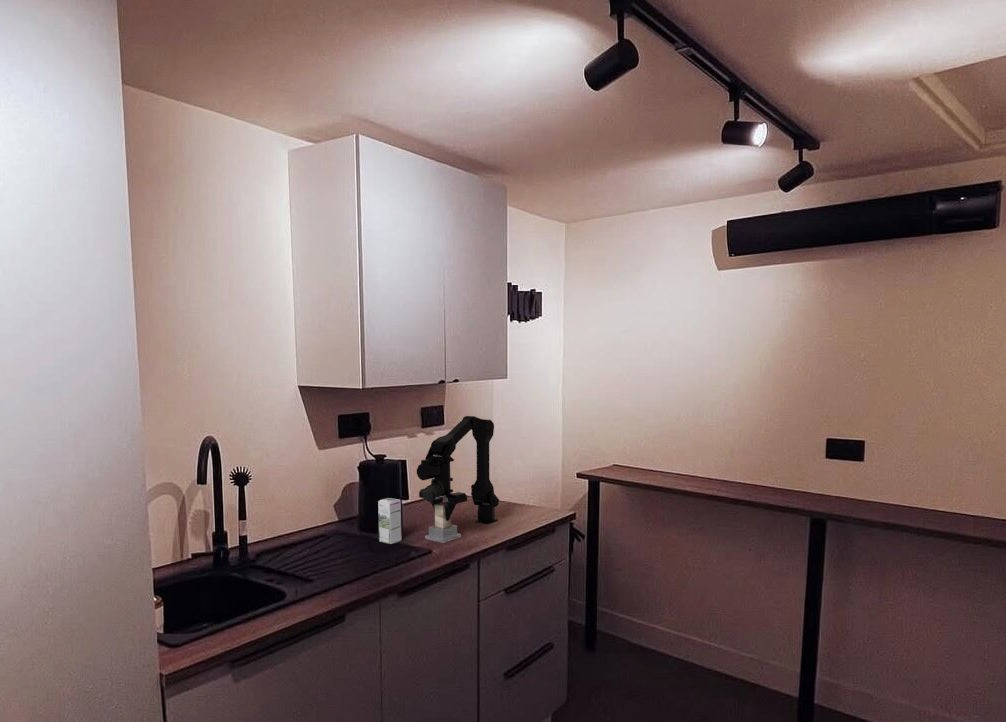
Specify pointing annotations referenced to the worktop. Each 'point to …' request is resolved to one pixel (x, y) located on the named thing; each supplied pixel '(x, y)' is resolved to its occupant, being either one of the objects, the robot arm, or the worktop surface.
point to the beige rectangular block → (441, 517)
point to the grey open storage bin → (443, 534)
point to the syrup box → (389, 520)
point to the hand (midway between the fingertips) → (443, 519)
